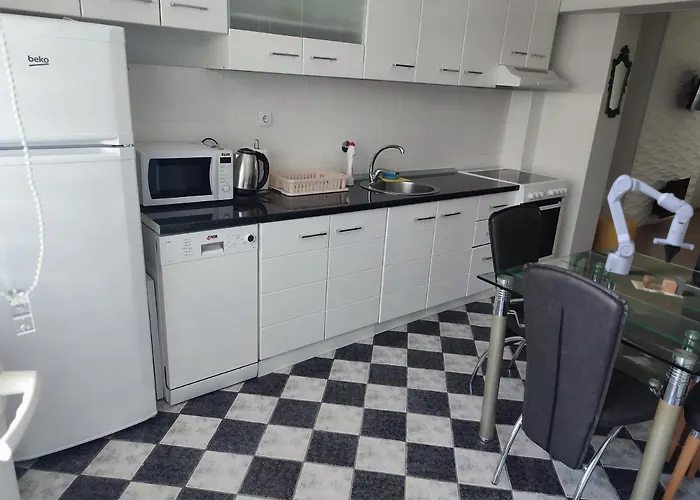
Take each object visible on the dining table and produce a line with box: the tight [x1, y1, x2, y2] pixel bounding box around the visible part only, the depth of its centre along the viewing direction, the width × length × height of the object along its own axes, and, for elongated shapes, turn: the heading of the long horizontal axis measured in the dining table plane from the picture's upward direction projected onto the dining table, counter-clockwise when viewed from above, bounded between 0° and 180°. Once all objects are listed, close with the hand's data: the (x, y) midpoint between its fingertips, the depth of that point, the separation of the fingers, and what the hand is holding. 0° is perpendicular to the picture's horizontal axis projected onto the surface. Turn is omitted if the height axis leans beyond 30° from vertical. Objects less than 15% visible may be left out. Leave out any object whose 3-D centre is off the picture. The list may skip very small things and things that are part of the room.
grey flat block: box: [674, 275, 687, 297], centre depth 199 cm, size 2×6×7 cm, turn 161°
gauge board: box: [630, 279, 684, 299], centre depth 202 cm, size 17×11×1 cm, turn 71°
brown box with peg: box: [642, 274, 657, 289], centre depth 201 cm, size 3×6×4 cm, turn 161°
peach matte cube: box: [661, 278, 678, 294], centre depth 200 cm, size 4×4×4 cm
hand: (667, 262), depth 208 cm, fingers closed
